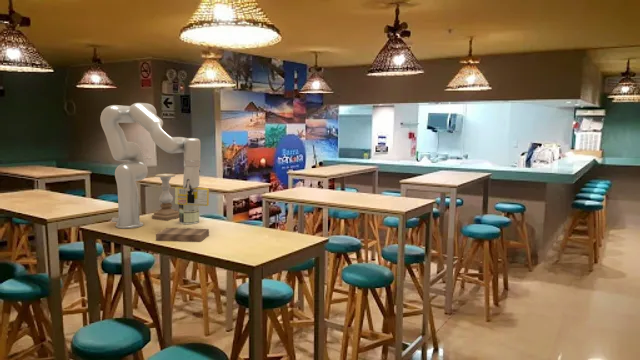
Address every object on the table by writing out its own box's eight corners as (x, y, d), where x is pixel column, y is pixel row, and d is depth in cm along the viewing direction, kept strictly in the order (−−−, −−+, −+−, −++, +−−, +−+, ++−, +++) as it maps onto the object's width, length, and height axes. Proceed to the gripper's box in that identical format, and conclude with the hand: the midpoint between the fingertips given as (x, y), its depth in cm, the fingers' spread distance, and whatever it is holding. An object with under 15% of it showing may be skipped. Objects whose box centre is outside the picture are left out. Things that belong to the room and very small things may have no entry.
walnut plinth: (155, 240, 202) (155, 233, 202) (166, 234, 214) (166, 227, 214) (200, 241, 201) (200, 235, 201) (208, 235, 213) (208, 229, 213)
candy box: (209, 205, 221) (209, 188, 220) (207, 206, 219) (207, 189, 217) (176, 203, 222) (176, 186, 221) (174, 204, 220) (174, 187, 219)
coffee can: (175, 223, 238) (174, 196, 236) (186, 219, 247) (186, 193, 246) (192, 225, 235) (191, 197, 233) (203, 221, 244) (202, 194, 243)
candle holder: (166, 215, 258) (165, 173, 255) (181, 217, 253) (180, 174, 251) (151, 218, 248) (150, 174, 246) (166, 220, 244) (165, 176, 241)
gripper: (190, 162, 226) (190, 199, 228) (178, 165, 210) (178, 205, 212) (205, 163, 225) (204, 200, 228) (194, 166, 210) (193, 205, 212)
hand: (191, 202), depth 220 cm, fingers closed on candy box, 2 cm apart
